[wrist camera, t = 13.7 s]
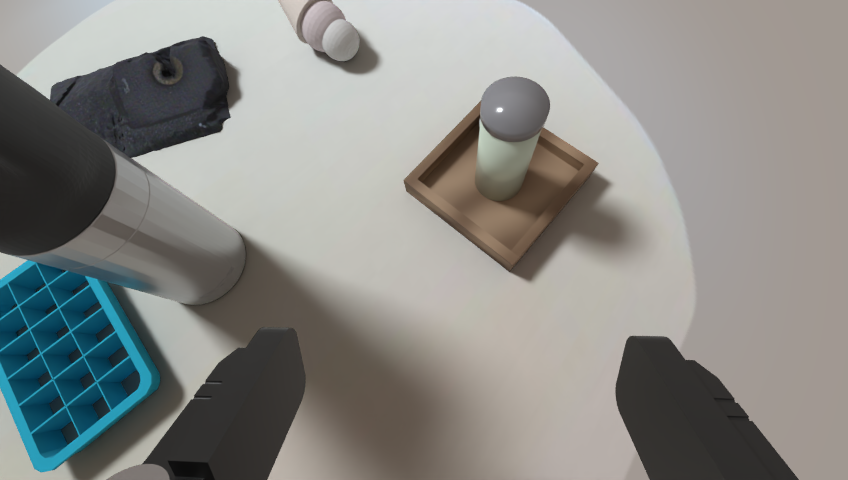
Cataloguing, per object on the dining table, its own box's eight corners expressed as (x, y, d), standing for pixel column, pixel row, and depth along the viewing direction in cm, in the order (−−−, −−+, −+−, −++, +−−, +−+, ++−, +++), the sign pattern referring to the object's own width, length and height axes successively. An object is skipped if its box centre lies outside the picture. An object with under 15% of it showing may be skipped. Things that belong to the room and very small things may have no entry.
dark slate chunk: (63, 85, 53) (27, 58, 48) (224, 38, 53) (203, 7, 49) (62, 183, 48) (21, 162, 43) (239, 129, 48) (217, 104, 44)
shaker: (463, 182, 42) (467, 108, 31) (494, 149, 43) (508, 66, 32) (502, 211, 41) (521, 145, 29) (533, 176, 42) (563, 99, 30)
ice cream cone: (279, 5, 54) (360, 72, 52) (242, 3, 49) (329, 76, 47) (290, -44, 50) (378, 27, 48) (251, -51, 45) (346, 27, 44)
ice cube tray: (71, 472, 37) (39, 480, 34) (-3, 309, 43) (-35, 304, 40) (178, 384, 39) (156, 385, 36) (93, 240, 45) (69, 230, 42)
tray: (406, 191, 43) (403, 180, 41) (487, 107, 46) (488, 92, 44) (509, 271, 40) (513, 265, 37) (590, 175, 42) (598, 163, 40)
